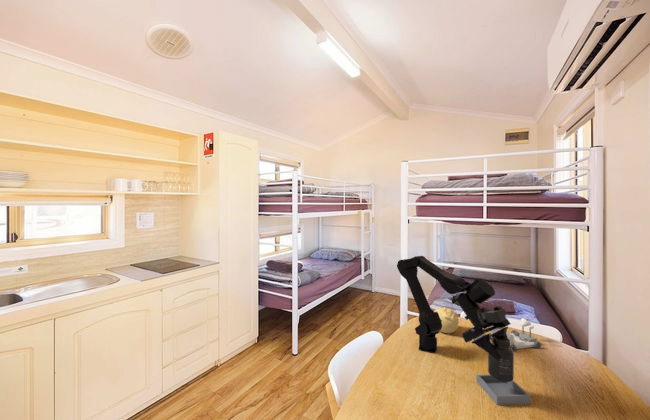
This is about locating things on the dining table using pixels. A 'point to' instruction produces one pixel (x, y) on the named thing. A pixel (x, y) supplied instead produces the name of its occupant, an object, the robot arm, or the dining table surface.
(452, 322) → the sculpture
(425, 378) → the dining table surface
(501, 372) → the supplement bottle
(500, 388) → the holder tray
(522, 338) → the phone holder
